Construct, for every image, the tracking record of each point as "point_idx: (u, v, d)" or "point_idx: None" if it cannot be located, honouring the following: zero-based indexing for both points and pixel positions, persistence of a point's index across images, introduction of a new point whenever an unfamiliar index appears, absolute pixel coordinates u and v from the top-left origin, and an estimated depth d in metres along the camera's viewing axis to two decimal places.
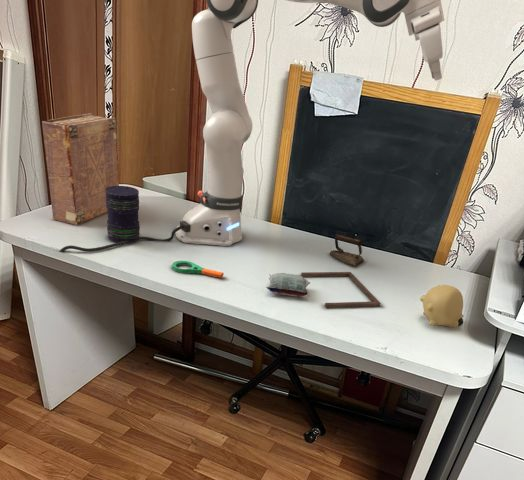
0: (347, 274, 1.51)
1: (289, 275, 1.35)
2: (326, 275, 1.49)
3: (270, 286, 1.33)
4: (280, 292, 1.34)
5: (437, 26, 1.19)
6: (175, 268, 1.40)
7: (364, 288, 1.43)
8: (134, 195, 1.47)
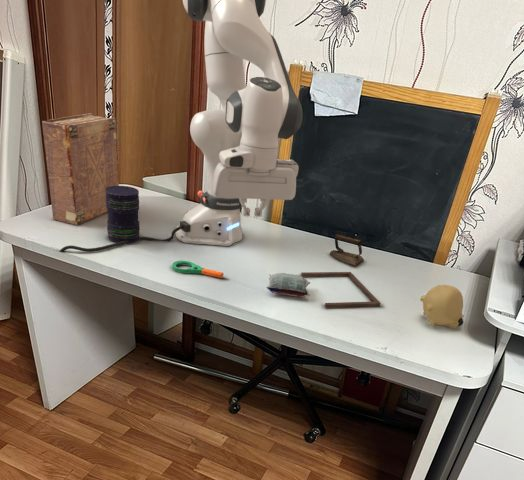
0: (347, 274, 1.51)
1: (289, 275, 1.35)
2: (326, 275, 1.49)
3: (270, 286, 1.33)
4: (280, 292, 1.34)
5: (222, 168, 1.13)
6: (175, 268, 1.40)
7: (364, 288, 1.43)
8: (134, 195, 1.47)
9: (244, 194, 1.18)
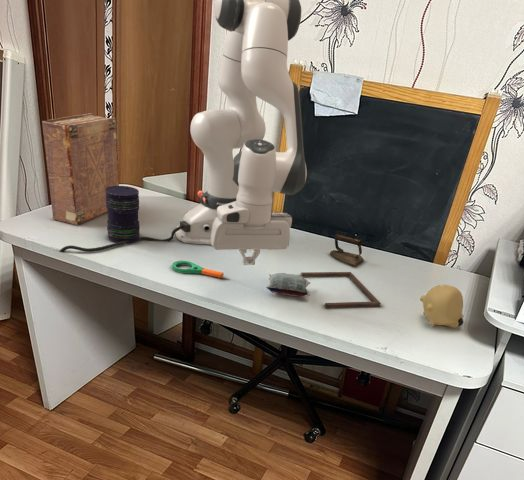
0: (347, 274, 1.51)
1: (289, 275, 1.35)
2: (326, 275, 1.49)
3: (270, 286, 1.33)
4: (280, 292, 1.34)
5: (219, 223, 1.20)
6: (175, 268, 1.40)
7: (364, 288, 1.43)
8: (134, 195, 1.47)
9: (241, 246, 1.25)
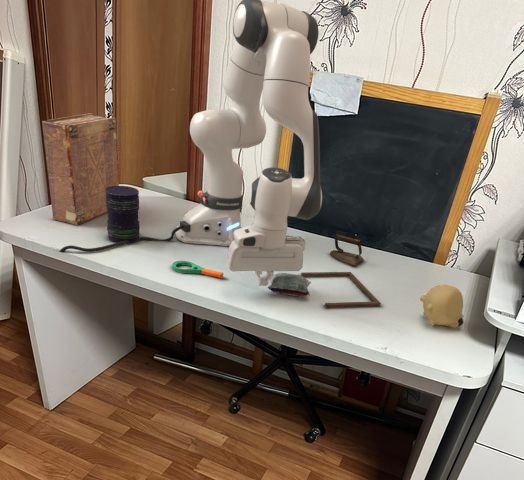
0: (347, 274, 1.51)
1: (290, 275, 1.35)
2: (326, 275, 1.49)
3: (271, 286, 1.33)
4: (281, 292, 1.34)
5: (236, 246, 1.25)
6: (175, 268, 1.40)
7: (364, 288, 1.43)
8: (134, 195, 1.47)
9: (256, 268, 1.29)
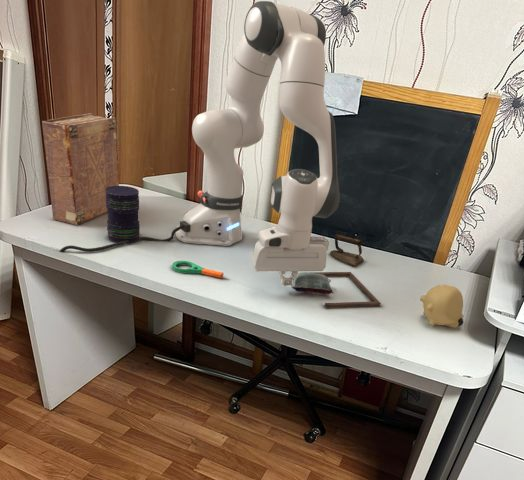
0: (347, 274, 1.51)
1: (312, 274, 1.38)
2: (326, 275, 1.49)
3: (296, 286, 1.35)
4: (305, 291, 1.36)
5: (262, 247, 1.26)
6: (175, 268, 1.40)
7: (364, 288, 1.43)
8: (134, 195, 1.47)
9: (280, 268, 1.31)
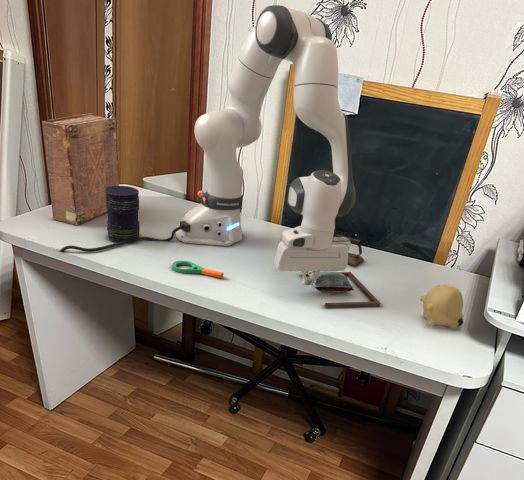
0: (347, 274, 1.51)
1: (332, 273, 1.40)
2: None
3: (318, 285, 1.37)
4: (327, 290, 1.39)
5: (285, 247, 1.28)
6: (175, 268, 1.40)
7: (364, 288, 1.43)
8: (134, 195, 1.47)
9: (303, 268, 1.33)
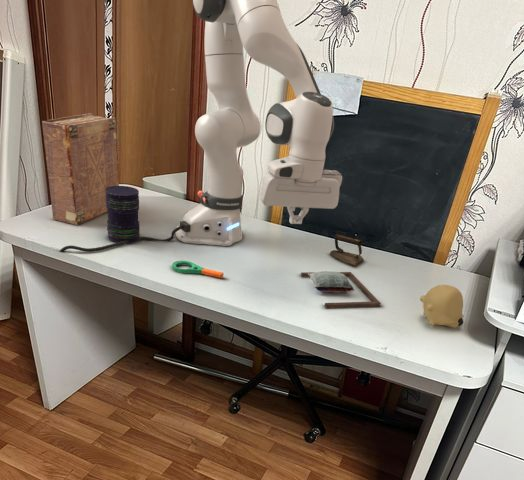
0: (347, 274, 1.51)
1: (332, 273, 1.40)
2: None
3: (318, 285, 1.37)
4: (327, 290, 1.39)
5: (271, 178, 1.18)
6: (175, 268, 1.40)
7: (364, 288, 1.43)
8: (134, 195, 1.47)
9: (290, 203, 1.23)
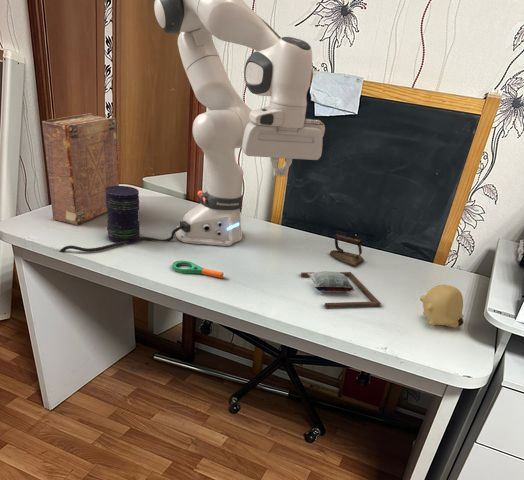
0: (347, 274, 1.51)
1: (332, 273, 1.40)
2: None
3: (318, 285, 1.37)
4: (327, 290, 1.39)
5: (252, 126, 1.17)
6: (175, 268, 1.40)
7: (364, 288, 1.43)
8: (134, 195, 1.47)
9: (273, 153, 1.22)
